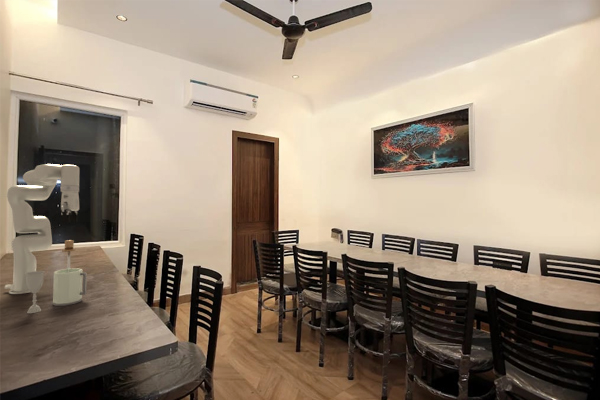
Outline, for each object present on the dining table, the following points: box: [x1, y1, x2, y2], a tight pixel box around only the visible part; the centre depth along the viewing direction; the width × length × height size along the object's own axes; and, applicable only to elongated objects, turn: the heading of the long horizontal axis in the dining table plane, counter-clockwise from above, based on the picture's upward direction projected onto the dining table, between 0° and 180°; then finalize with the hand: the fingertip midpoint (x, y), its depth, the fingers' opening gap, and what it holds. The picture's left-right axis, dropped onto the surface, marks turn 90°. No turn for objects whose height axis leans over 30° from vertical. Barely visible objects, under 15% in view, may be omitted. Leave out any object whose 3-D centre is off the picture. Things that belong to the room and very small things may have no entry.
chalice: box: [25, 270, 46, 314], centre depth 139 cm, size 7×7×18 cm
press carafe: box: [52, 267, 88, 307], centre depth 152 cm, size 14×12×16 cm
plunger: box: [61, 239, 77, 273], centre depth 152 cm, size 6×6×21 cm
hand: (69, 222), depth 153 cm, fingers open, 9 cm apart
